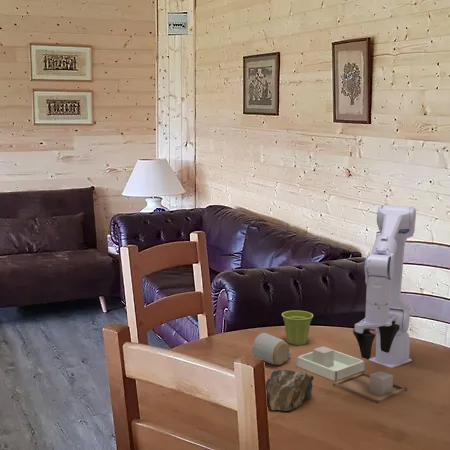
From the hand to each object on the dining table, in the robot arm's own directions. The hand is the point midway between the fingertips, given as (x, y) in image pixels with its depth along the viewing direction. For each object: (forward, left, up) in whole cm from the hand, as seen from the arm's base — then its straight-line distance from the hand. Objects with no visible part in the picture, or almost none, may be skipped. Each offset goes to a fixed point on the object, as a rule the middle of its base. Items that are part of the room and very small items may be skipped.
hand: (375, 354), depth 177 cm
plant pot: (-11, -38, -10) cm, 41 cm away
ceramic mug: (+5, -31, -10) cm, 33 cm away
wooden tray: (0, -1, -10) cm, 10 cm away
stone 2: (0, +2, -9) cm, 9 cm away
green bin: (-2, -17, -10) cm, 19 cm away
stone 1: (-2, -19, -9) cm, 21 cm away
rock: (+22, -10, -10) cm, 26 cm away
